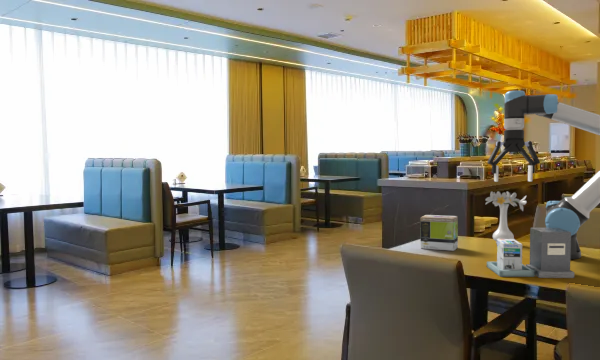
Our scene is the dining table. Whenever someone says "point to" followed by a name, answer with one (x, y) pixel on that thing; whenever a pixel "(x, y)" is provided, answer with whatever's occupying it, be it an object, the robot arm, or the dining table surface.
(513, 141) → the robot arm
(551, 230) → the control unit
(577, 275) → the dining table surface
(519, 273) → the tray
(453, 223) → the tea box
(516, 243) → the light bulb box
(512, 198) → the flower vase
